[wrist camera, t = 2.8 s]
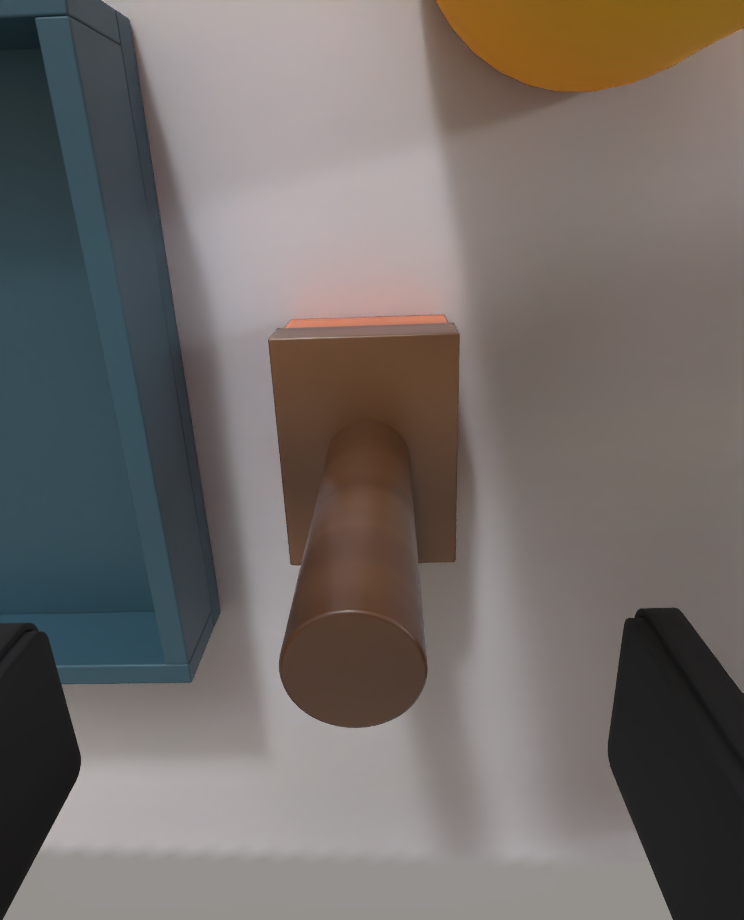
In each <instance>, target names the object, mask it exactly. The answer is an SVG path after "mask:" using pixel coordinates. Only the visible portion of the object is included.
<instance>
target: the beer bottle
mask: <svg viewBox="0 0 744 920" xmlns="http://www.w3.org/2000/svg"><path fill="white" fill-rule="evenodd" d="M435 1H436V2H437V4H438V6H439V7H440V9H441V11H442V12H443V14H444V16H445V18H446V19H447V21H448V23H449V24H450V26H451V27H452V29H453V30H454V31H455V32H456V33H457V34H458V35H459V37H460V38H461V39H462V40H463V41H464V42H465V43H466V44H467V46H468V47H469V48H470V49H471V50H472V51H473V52H474V53H475V54H476V55H478V56H479V57H480V58H482V59H483V60H484V61H486V62H487V63H488V64H490V65H491V66H492V67H494V68H495V69H496V70H498V71H499V72H501V73H503V74H505V75H507V76H510V77H512V78H514V79H516V80H518V81H521V82H523V83H525V84H527V85H531V86H535V87H540V88H545V89H549V90H554V91H558V92H560V91H597V90H602V89H607V88H612V87H617V86H621V85H626V84H630V83H633V82H636V81H638V80H641V79H643V78H645V77H648V76H650V75H652V74H655V73H657V72H660V71H662V70H664V69H667V68H669V67H671V66H673V65H675V64H677V63H678V62H680V61H682V60H684V59H685V58H687V57H689V56H690V55H692V54H694V53H696V52H697V51H699V50H701V49H702V48H704V47H706V46H708V45H710V44H712V43H714V42H716V41H718V40H720V39H722V38H724V37H726V36H728V35H730V34H732V33H734V32H736V31H738V30H740V29H743V28H744V0H435Z"/></svg>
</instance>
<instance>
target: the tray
mask: <svg viewBox="0 0 744 920" xmlns="http://www.w3.org/2000/svg"><path fill="white" fill-rule="evenodd" d="M220 612H221V610H220V604H219V597H218V591H217V584H216V578H215V571H214V565H213V558H212V552H211V545H210V539H209V532H208V526H207V520H206V513H205V507H204V500H203V494H202V487H201V481H200V474H199V468H198V461H197V455H196V448H195V442H194V435H193V429H192V422H191V416H190V409H189V403H188V396H187V390H186V383H185V377H184V370H183V364H182V357H181V351H180V344H179V338H178V331H177V325H176V318H175V312H174V305H173V299H172V292H171V286H170V279H169V273H168V266H167V260H166V253H165V247H164V240H163V234H162V227H161V221H160V214H159V208H158V201H157V195H156V188H155V182H154V175H153V169H152V163H151V156H150V150H149V143H148V137H147V130H146V124H145V117H144V111H143V104H142V98H141V91H140V85H139V78H138V72H137V65H136V59H135V52H134V46H133V39H132V33H131V26H130V20H129V19H128V18H126V17H125V16H124V15H122V14H121V13H119V12H118V11H116V10H114V9H113V8H111V7H110V6H109V5H107V4H106V3H104V2H103V1H101V0H0V623H33V624H35V625H36V627H37V628H38V630H39V631H42V632H45V633H46V634H47V636H48V638H49V641H50V645H51V649H52V652H53V656H54V660H55V663H56V667H57V671H58V674H59V678H60V682H61V684H120V683H190V682H192V680H193V678H194V675H195V673H196V670H197V668H198V665H199V663H200V660H201V658H202V655H203V653H204V650H205V648H206V645H207V643H208V640H209V638H210V636H211V633H212V631H213V628H214V626H215V624H216V622H217V619H218V617H219V614H220Z"/></svg>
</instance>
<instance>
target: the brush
mask: <svg viewBox="0 0 744 920" xmlns="http://www.w3.org/2000/svg"><path fill="white" fill-rule="evenodd" d="M459 338H460V334H459V332H458V330H457V328H456V326H455V324H454V323H448V321H447V319H446V317H445V315H414V316H384V317H353V318H322V319H292V320H290V321H289V323H288V324H287V325H286V326H285V328H278V329H277V330H276V331H275V332H274V333H273V334H272V336H271V337H270V338H269V340H268V343H269V353H270V363H271V373H272V383H273V393H274V403H275V413H276V423H277V433H278V443H279V453H280V463H281V473H282V483H283V493H284V503H285V513H286V524H287V534H288V544H289V554H290V563H291V565H301V568H300V572H299V576H298V580H297V585H296V589H295V593H294V598H293V602H292V606H291V610H290V615H289V619H288V623H287V627H286V632H285V636H284V640H283V644H282V649H281V653H280V659H279V672H280V677H281V680H282V683H283V686H284V688H285V690H286V692H287V694H288V695H289V697H290V698H291V699H292V701H293V702H294V703H295V704H296V705H297V706H298V707H299V708H300V709H301V710H303V711H304V712H305V713H307V714H308V715H310V716H312V717H313V718H315V719H318V720H320V721H322V722H325V723H328V724H331V725H335V726H340V727H348V728H361V727H370V726H375V725H379V724H383V723H385V722H388V721H390V720H392V719H394V718H396V717H398V716H400V715H401V714H403V713H404V712H405V711H407V710H408V709H409V708H410V707H411V706H412V705H413V704H414V703H415V701H416V700H417V699H418V697H419V695H420V694H421V692H422V690H423V688H424V685H425V682H426V678H427V657H426V645H425V634H424V622H423V610H422V598H421V587H420V575H419V563H435V562H455V560H456V513H457V454H458V396H459Z"/></svg>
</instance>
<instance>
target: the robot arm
mask: <svg viewBox="0 0 744 920" xmlns="http://www.w3.org/2000/svg"><path fill="white" fill-rule="evenodd" d="M608 757H609V763H610V767H611V770H612V773H613V775H614V777H615V780H616V782H617V785H618V787H619V790H620V792H621V794H622V797H623V799H624V802H625V804H626V807H627V809H628V811H629V814H630V816H631V819H632V821H633V824H634V826H635V828H636V831H637V833H638V836H639V838H640V841H641V843H642V845H643V848H644V850H645V853H646V855H647V858H648V860H649V862H650V865H651V867H652V870H653V872H654V875H655V877H656V879H657V882H658V884H659V887H660V889H661V891H662V894H663V896H664V899H665V901H666V904H667V906H668V909H669V911H670V913H671V916H672V918H673V920H744V693H742V692H741V691H740V689H739V688H738V687H737V685H736V684H735V683H734V681H733V680H732V679H731V677H730V676H729V675H728V673H727V672H726V671H725V669H724V668H723V667H722V665H721V664H720V663H719V661H718V660H717V659H716V657H715V656H714V655H713V653H712V652H711V651H710V649H709V648H708V647H707V645H706V644H705V643H704V641H703V640H702V639H701V637H700V636H699V635H698V633H697V632H696V630H695V629H694V628H693V626H692V625H691V624H690V622H689V621H688V620H687V618H686V617H685V616H684V614H683V613H682V612H681V611H680V610H679V609H677V608H641V609H639V610H638V611H637V612H636V614H635V618H628V619H626V621H625V623H624V629H623V636H622V644H621V651H620V658H619V666H618V673H617V681H616V688H615V695H614V703H613V710H612V718H611V725H610V733H609V740H608ZM80 766H81V756H80V751H79V747H78V744H77V740H76V736H75V733H74V729H73V725H72V722H71V718H70V714H69V711H68V707H67V704H66V700H65V696H64V693H63V689H62V685H61V682H60V678H59V674H58V671H57V667H56V663H55V660H54V656H53V652H52V649H51V645H50V641H49V638H48V636H47V634H46V633H45V632H42V631H39V630H38V628H37V627H36V625H35V624H33V623H0V920H3V918H4V916H5V914H6V912H7V910H8V908H9V906H10V905H11V903H12V901H13V899H14V897H15V895H16V893H17V891H18V889H19V888H20V886H21V884H22V882H23V880H24V878H25V876H26V874H27V872H28V871H29V869H30V867H31V865H32V863H33V861H34V859H35V857H36V855H37V854H38V852H39V850H40V848H41V846H42V844H43V842H44V840H45V839H46V837H47V835H48V833H49V831H50V829H51V827H52V825H53V823H54V822H55V820H56V818H57V816H58V814H59V812H60V810H61V808H62V806H63V805H64V803H65V801H66V799H67V797H68V795H69V793H70V791H71V789H72V788H73V786H74V784H75V782H76V780H77V777H78V775H79V771H80Z"/></svg>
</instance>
